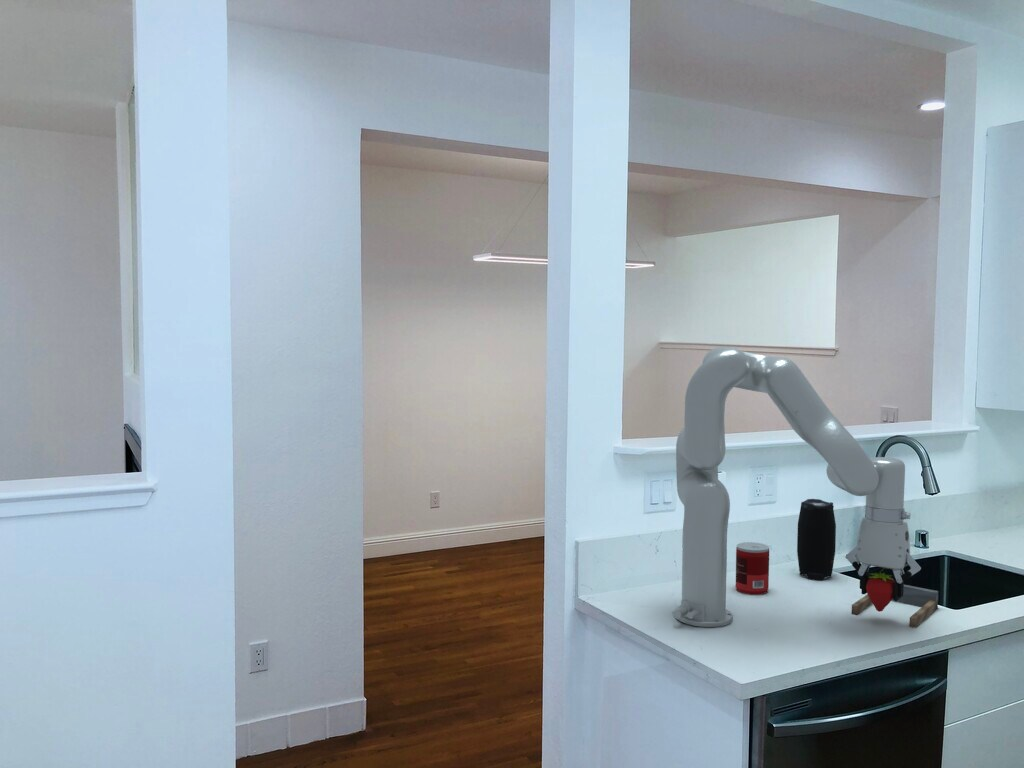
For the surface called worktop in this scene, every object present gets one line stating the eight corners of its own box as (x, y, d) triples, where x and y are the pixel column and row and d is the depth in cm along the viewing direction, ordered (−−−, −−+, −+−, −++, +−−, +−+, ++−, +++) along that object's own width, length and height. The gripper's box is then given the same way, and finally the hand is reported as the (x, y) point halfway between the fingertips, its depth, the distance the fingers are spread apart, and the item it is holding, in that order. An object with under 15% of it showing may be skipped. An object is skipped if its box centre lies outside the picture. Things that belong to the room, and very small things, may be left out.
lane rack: (915, 627, 177) (915, 609, 177) (851, 613, 186) (851, 596, 185) (937, 608, 189) (938, 591, 189) (876, 595, 198) (877, 579, 198)
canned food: (773, 589, 203) (774, 545, 202) (760, 597, 197) (761, 551, 196) (744, 583, 208) (745, 540, 207) (730, 590, 202) (730, 546, 201)
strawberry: (901, 611, 181) (902, 566, 181) (887, 619, 176) (888, 572, 175) (873, 604, 185) (875, 560, 185) (859, 612, 180) (861, 566, 180)
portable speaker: (841, 578, 212) (843, 503, 211) (812, 582, 209) (814, 506, 207) (817, 569, 220) (820, 497, 219) (789, 573, 217) (791, 499, 215)
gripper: (932, 518, 176) (928, 601, 178) (849, 506, 188) (846, 584, 189) (922, 523, 171) (918, 609, 172) (837, 511, 182) (834, 591, 183)
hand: (880, 595), depth 180 cm, fingers closed on strawberry, 5 cm apart
